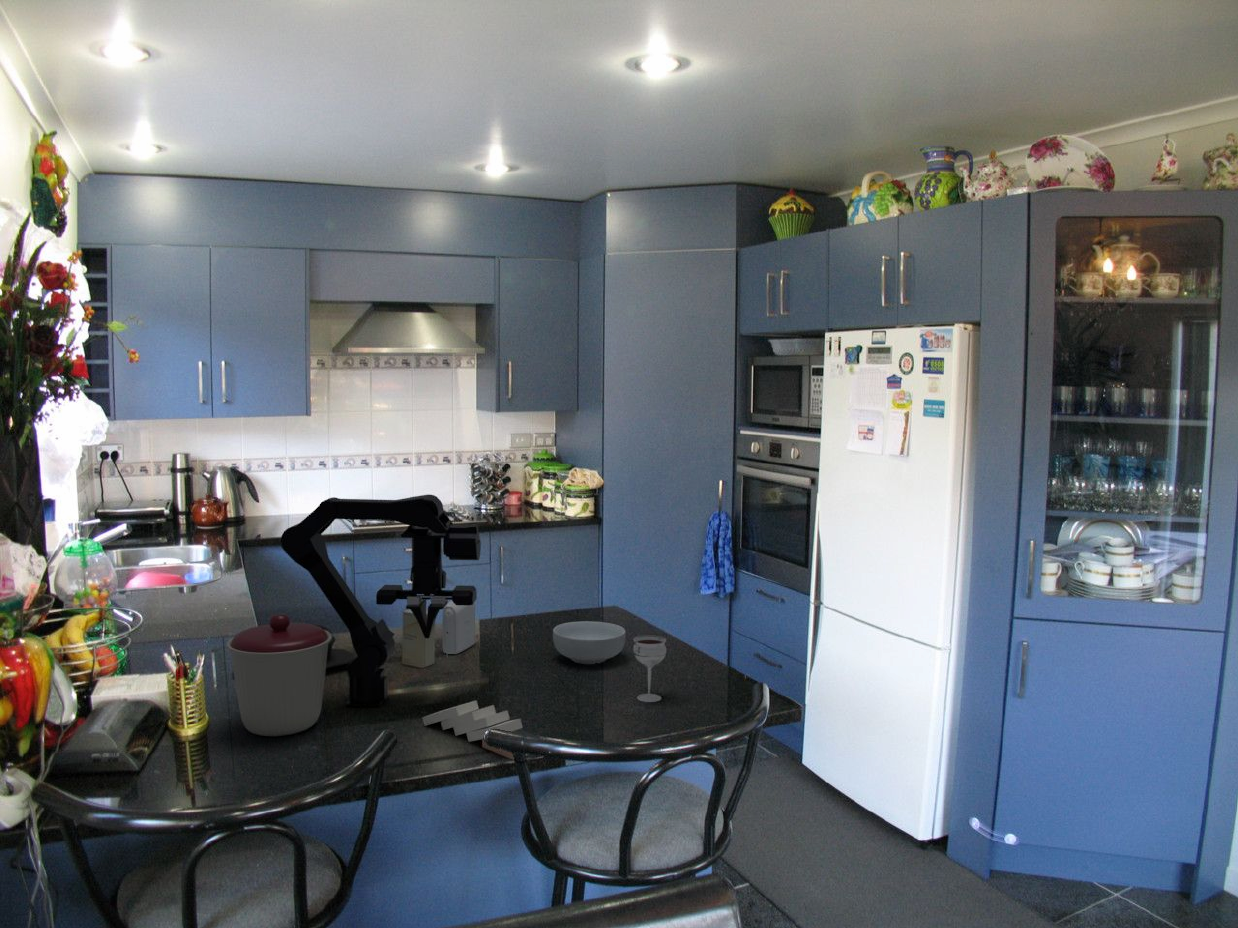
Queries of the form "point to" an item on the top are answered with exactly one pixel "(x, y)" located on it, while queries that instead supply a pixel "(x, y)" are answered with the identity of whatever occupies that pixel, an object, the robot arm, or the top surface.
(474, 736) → the domino
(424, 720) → the domino
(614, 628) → the cereal bowl
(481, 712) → the domino
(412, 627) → the skincare box
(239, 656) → the canister
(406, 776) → the top surface
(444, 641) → the photo printer
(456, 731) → the domino
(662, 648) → the wineglass
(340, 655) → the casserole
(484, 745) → the domino
